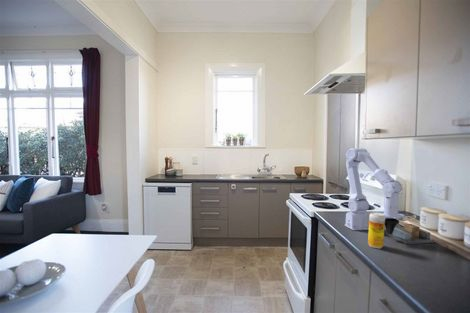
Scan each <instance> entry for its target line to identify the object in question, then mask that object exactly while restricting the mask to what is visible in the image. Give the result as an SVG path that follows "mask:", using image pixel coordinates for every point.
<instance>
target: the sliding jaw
mask: <svg viewBox="0 0 470 313" xmlns="http://www.w3.org/2000/svg"><path fill="white" fill-rule="evenodd" d="M392 234H393V235H395V236H397V237H399V238H402V239H404V240H409V239H410V233H407V232H405V231H404V229H403V230H402V229H400V228H397V226H395V228H394V230H393V233H392Z"/></svg>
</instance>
